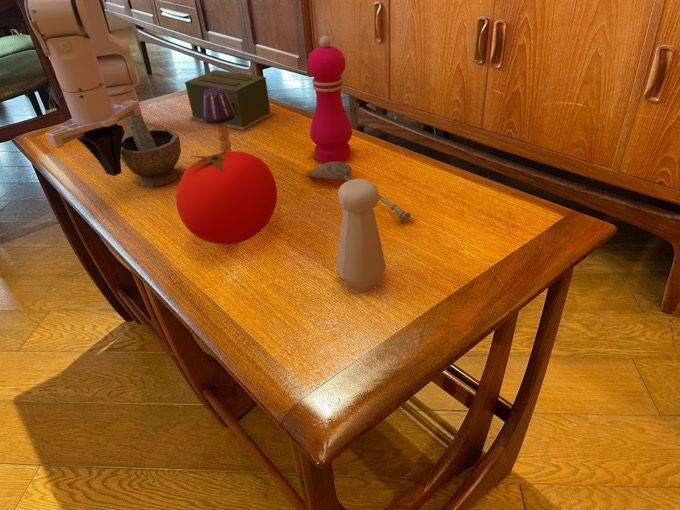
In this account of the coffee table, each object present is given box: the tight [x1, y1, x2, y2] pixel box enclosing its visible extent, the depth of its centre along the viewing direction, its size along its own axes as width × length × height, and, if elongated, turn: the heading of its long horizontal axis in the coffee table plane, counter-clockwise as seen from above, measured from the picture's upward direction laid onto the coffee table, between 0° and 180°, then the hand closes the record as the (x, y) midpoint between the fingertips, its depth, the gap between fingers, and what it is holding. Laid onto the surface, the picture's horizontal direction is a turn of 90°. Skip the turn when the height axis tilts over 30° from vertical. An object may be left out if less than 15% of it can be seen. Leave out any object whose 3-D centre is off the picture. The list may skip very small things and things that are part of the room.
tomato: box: [175, 149, 278, 245], centre depth 67 cm, size 12×14×11 cm
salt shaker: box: [335, 178, 387, 293], centre depth 57 cm, size 6×6×13 cm
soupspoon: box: [308, 161, 412, 224], centre depth 77 cm, size 22×3×7 cm
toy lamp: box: [203, 88, 236, 153], centre depth 74 cm, size 5×5×17 cm
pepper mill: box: [307, 35, 353, 164], centre depth 83 cm, size 7×7×20 cm
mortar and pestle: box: [121, 114, 182, 188], centre depth 83 cm, size 11×9×12 cm
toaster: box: [184, 69, 273, 131], centre depth 105 cm, size 14×11×8 cm
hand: (114, 173), depth 79 cm, fingers closed
